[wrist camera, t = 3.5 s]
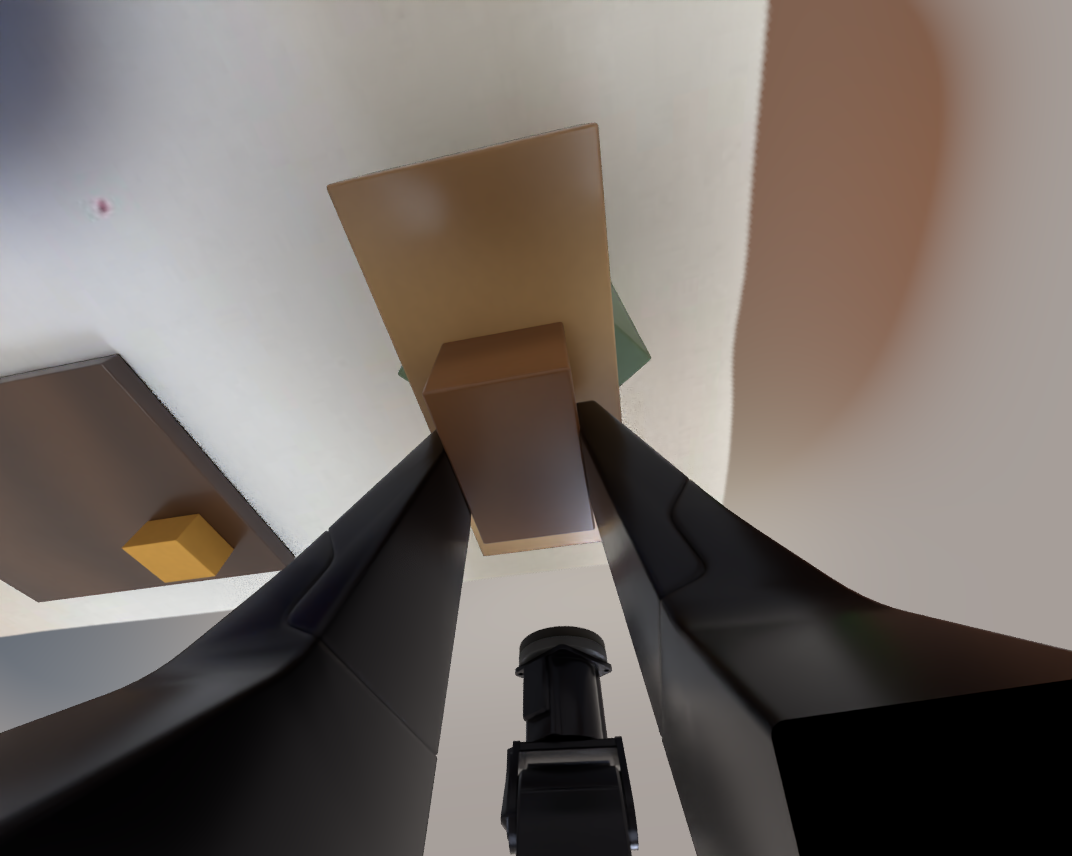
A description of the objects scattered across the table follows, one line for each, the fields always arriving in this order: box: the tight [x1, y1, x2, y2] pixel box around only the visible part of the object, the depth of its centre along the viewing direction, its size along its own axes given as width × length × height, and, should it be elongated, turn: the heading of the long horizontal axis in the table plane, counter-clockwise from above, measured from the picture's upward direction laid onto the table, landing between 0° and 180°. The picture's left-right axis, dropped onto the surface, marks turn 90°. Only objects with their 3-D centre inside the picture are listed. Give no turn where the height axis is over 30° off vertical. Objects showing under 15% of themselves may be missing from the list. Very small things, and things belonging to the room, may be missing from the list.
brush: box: [327, 123, 622, 556], centre depth 9 cm, size 10×4×4 cm, turn 11°
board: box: [0, 355, 295, 602], centre depth 25 cm, size 20×16×1 cm
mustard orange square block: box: [122, 514, 234, 583], centre depth 25 cm, size 4×4×2 cm
